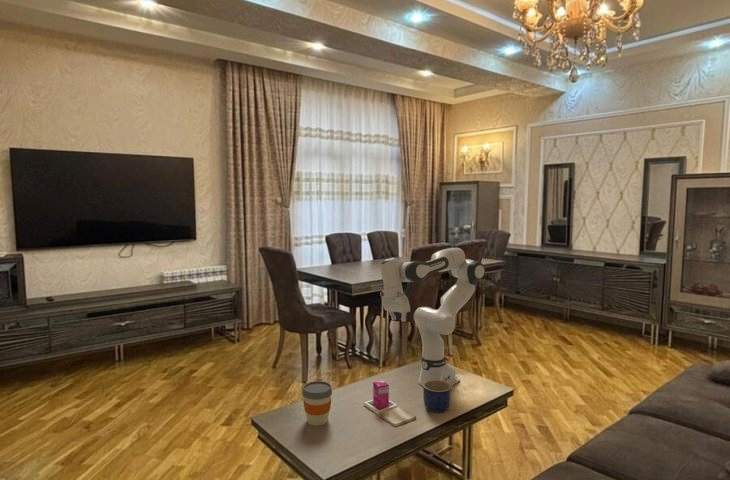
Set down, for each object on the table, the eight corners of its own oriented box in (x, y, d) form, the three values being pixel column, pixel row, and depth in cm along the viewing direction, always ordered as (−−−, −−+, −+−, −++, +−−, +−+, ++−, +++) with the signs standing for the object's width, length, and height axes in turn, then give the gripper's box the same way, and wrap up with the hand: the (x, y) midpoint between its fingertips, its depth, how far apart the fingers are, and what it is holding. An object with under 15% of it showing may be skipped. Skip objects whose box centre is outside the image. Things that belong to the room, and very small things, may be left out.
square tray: (382, 399, 212) (382, 396, 212) (397, 408, 203) (397, 405, 203) (364, 405, 206) (364, 402, 206) (378, 414, 197) (378, 411, 197)
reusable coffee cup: (337, 417, 194) (337, 384, 193) (320, 430, 183) (320, 395, 182) (314, 410, 201) (314, 378, 199) (296, 422, 190) (296, 389, 188)
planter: (455, 412, 200) (456, 388, 199) (431, 417, 195) (432, 393, 194) (441, 400, 211) (441, 378, 210) (418, 404, 207) (418, 382, 206)
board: (399, 408, 203) (399, 406, 203) (416, 418, 194) (416, 416, 194) (379, 416, 196) (379, 413, 196) (395, 426, 187) (395, 424, 187)
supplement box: (372, 405, 206) (372, 381, 205) (383, 403, 208) (384, 379, 207) (377, 410, 201) (377, 386, 200) (389, 408, 203) (389, 384, 202)
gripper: (410, 291, 204) (416, 320, 204) (389, 290, 223) (394, 317, 223) (399, 294, 201) (404, 324, 201) (378, 292, 220) (383, 320, 220)
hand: (398, 320), depth 212 cm, fingers open, 8 cm apart
